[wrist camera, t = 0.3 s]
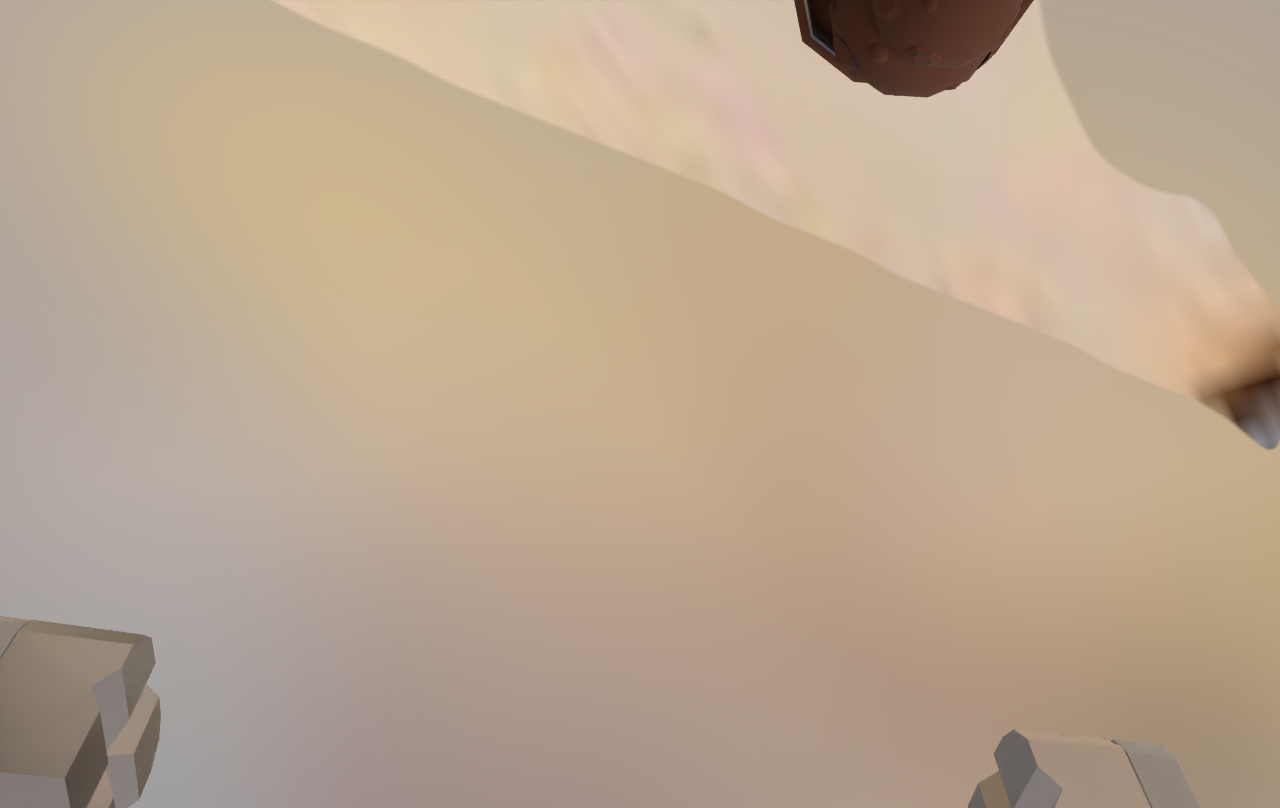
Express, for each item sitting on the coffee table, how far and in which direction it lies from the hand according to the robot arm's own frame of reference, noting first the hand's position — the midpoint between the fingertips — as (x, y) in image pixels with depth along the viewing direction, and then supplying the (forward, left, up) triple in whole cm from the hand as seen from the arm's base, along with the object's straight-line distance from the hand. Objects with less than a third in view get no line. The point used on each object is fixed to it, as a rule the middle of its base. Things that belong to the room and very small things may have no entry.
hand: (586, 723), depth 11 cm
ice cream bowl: (+2, +19, -52) cm, 55 cm away
